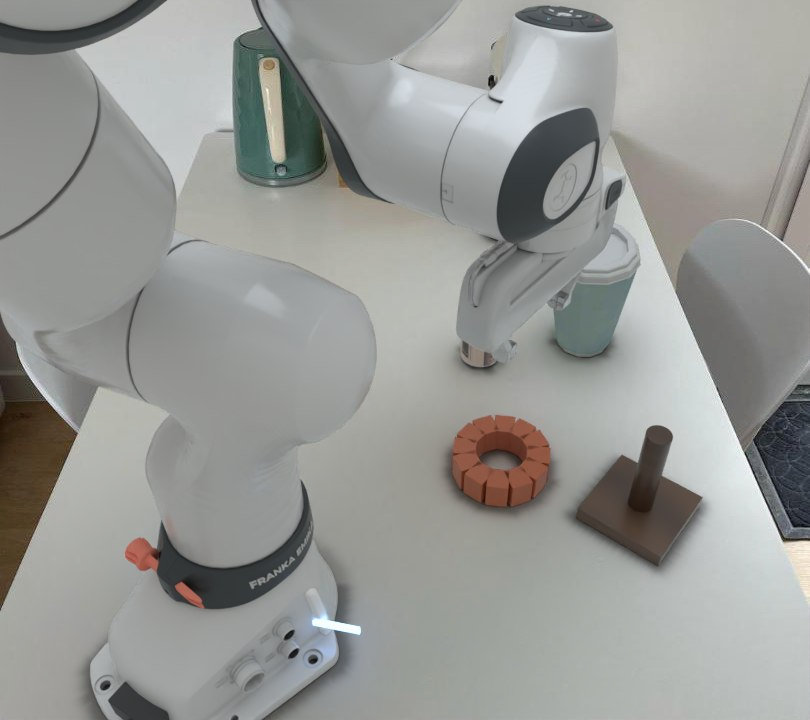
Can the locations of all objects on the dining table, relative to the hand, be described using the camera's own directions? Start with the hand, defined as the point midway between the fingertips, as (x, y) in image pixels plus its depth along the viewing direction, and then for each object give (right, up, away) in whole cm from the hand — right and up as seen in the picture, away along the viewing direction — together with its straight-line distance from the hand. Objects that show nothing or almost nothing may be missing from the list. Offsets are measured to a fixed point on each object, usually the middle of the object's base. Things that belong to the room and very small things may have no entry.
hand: (531, 330), depth 77 cm
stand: (+11, -18, +4) cm, 22 cm away
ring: (-2, -14, +9) cm, 17 cm away
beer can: (-3, -3, +22) cm, 22 cm away
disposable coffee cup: (+10, -1, +23) cm, 25 cm away
